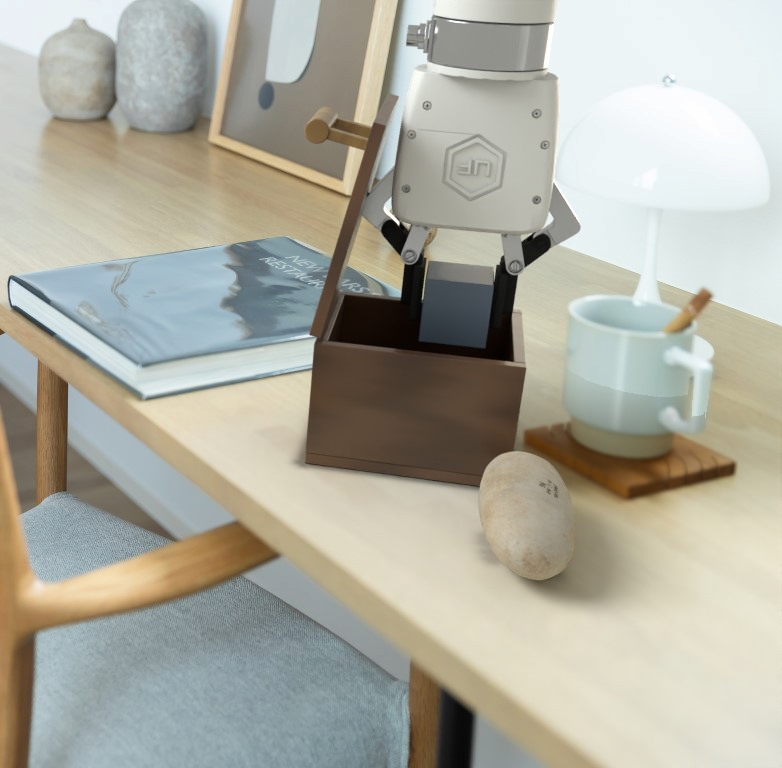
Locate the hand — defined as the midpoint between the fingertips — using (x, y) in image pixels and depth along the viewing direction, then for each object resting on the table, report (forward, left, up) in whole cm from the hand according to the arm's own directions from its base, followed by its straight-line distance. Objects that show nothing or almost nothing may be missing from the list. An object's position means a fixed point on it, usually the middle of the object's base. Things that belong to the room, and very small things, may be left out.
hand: (454, 316), depth 81 cm
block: (0, 0, -1) cm, 1 cm away
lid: (+7, +1, +7) cm, 10 cm away
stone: (-5, +14, -10) cm, 18 cm away
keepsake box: (+2, +1, -9) cm, 10 cm away
